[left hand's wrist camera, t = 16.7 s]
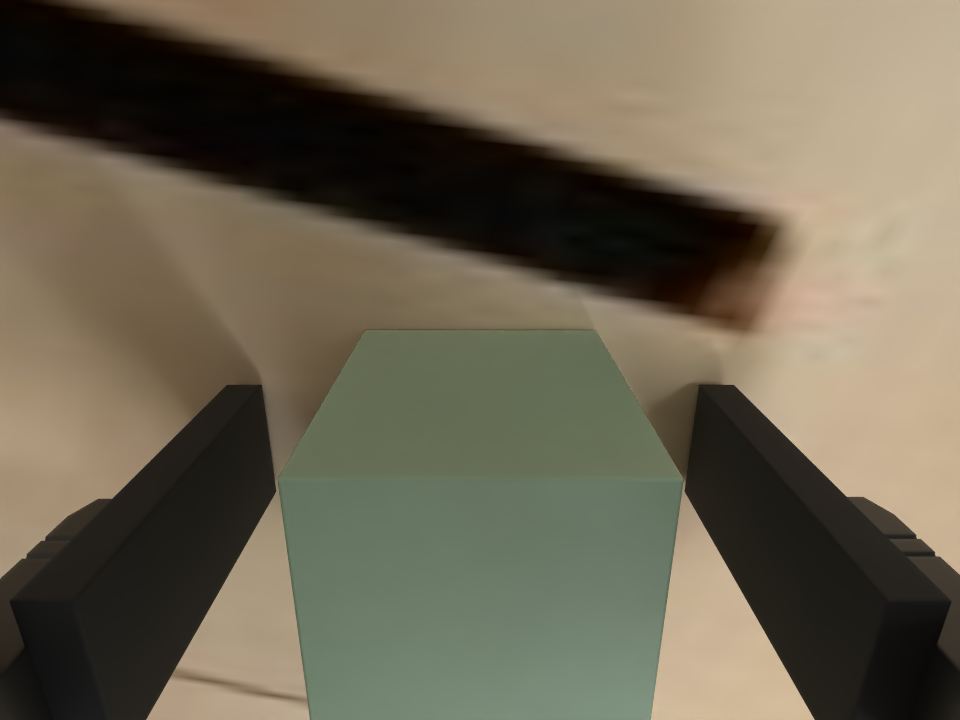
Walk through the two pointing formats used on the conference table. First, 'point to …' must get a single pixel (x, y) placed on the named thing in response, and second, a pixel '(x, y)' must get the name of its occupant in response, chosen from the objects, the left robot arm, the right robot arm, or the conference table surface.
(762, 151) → the conference table surface
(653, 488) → the sage block
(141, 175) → the conference table surface
